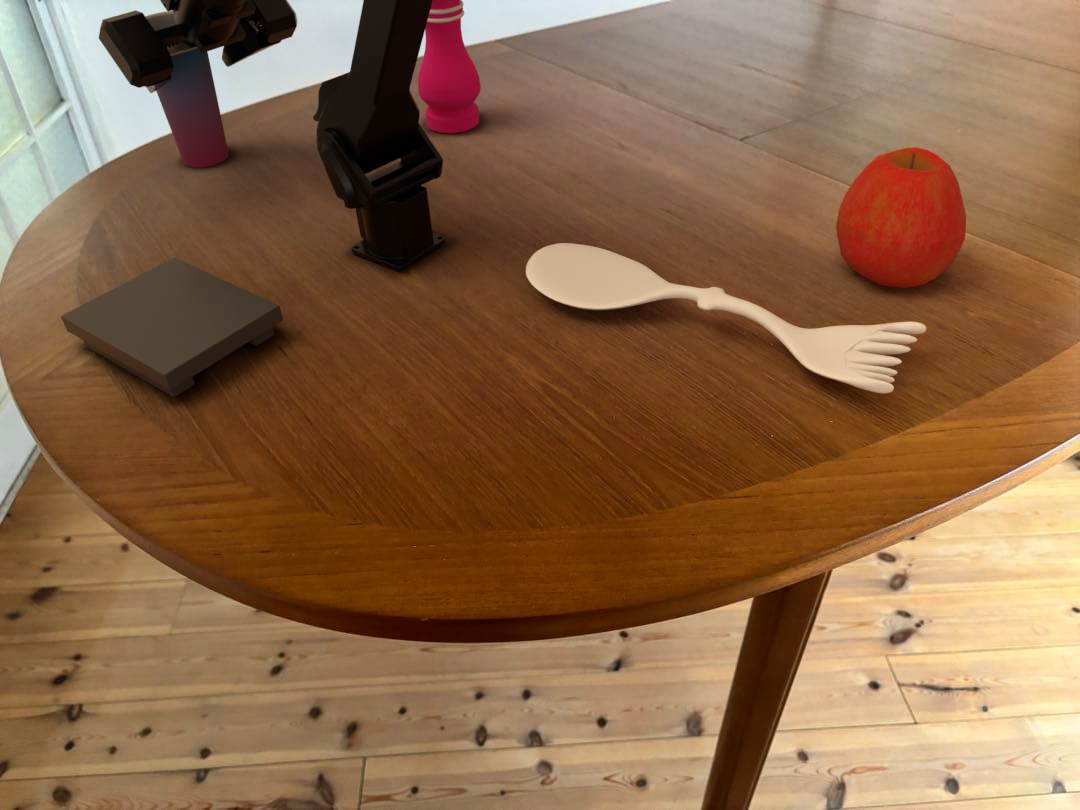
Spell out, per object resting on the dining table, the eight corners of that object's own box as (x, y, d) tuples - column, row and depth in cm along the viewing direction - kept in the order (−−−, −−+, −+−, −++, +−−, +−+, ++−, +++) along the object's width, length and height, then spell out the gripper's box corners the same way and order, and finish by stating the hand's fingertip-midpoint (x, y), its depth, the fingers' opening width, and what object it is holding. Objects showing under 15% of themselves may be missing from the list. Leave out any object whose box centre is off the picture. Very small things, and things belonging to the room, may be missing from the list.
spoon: (883, 423, 64) (893, 384, 62) (507, 301, 78) (504, 265, 76) (919, 356, 70) (930, 318, 68) (562, 253, 84) (561, 219, 82)
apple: (845, 228, 85) (865, 119, 78) (962, 250, 81) (994, 138, 74) (816, 282, 78) (836, 168, 72) (943, 309, 74) (976, 191, 68)
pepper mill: (492, 128, 107) (477, -60, 94) (432, 140, 105) (408, -50, 92) (472, 107, 112) (455, -74, 99) (415, 118, 110) (390, -65, 97)
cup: (219, 172, 101) (179, 32, 91) (163, 169, 102) (118, 30, 92) (247, 146, 106) (211, 11, 96) (193, 144, 107) (153, 9, 97)
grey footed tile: (287, 335, 76) (279, 304, 74) (176, 406, 69) (164, 374, 67) (184, 286, 82) (174, 256, 81) (73, 346, 76) (60, 316, 74)
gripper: (253, -115, 88) (220, -12, 101) (69, -75, 78) (58, 33, 91) (319, -15, 89) (278, 74, 102) (146, 37, 79) (124, 129, 92)
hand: (188, 75), depth 97 cm, fingers open, 9 cm apart
